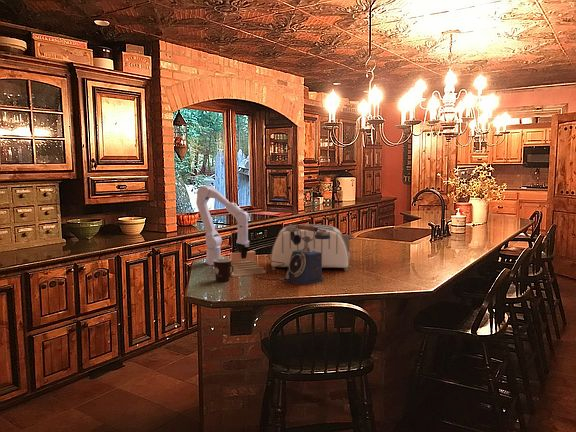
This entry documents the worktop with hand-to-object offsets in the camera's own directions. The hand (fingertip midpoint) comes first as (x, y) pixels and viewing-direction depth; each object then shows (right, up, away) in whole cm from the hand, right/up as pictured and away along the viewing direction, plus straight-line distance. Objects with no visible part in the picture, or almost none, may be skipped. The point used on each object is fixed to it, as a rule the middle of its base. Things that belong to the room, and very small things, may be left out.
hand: (242, 257), depth 264 cm
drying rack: (+2, -6, -14) cm, 16 cm away
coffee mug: (-6, -9, -35) cm, 36 cm away
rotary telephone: (+27, -8, -28) cm, 40 cm away
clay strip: (0, -2, 0) cm, 2 cm away
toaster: (+39, -5, -2) cm, 39 cm away
